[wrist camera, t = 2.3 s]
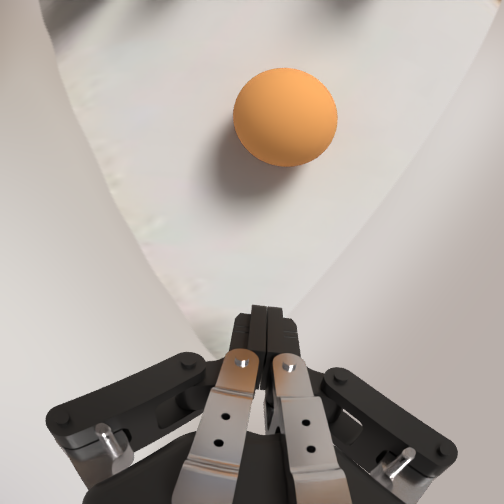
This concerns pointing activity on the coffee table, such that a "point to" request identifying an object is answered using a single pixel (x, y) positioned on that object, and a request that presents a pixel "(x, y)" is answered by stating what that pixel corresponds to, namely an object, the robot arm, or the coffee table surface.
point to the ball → (285, 117)
